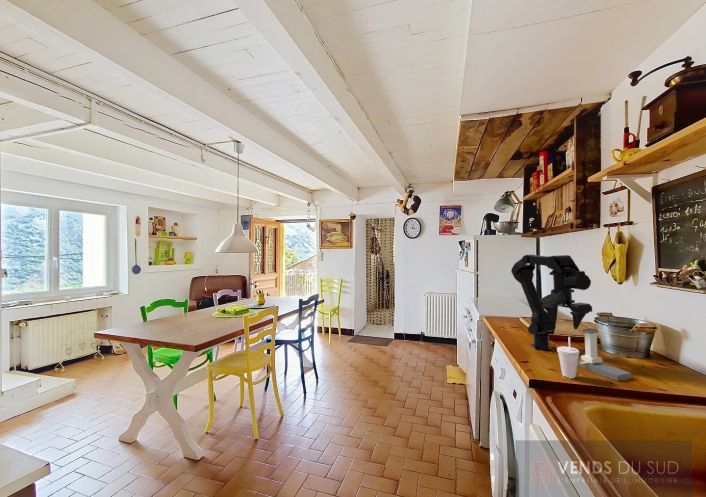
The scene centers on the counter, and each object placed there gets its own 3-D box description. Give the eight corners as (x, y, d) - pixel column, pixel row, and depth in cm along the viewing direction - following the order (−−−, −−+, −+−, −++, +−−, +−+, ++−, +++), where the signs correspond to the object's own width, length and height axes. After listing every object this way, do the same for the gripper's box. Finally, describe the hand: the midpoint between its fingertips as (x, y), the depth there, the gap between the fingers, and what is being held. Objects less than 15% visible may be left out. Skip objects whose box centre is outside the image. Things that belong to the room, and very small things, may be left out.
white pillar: (581, 359, 113) (580, 328, 113) (591, 358, 114) (589, 327, 114) (592, 363, 109) (590, 331, 109) (601, 362, 110) (600, 330, 110)
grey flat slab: (574, 365, 113) (573, 359, 113) (593, 362, 115) (593, 356, 115) (613, 382, 100) (613, 375, 100) (634, 378, 102) (634, 371, 102)
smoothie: (584, 381, 101) (582, 340, 101) (563, 380, 102) (561, 339, 102) (574, 373, 107) (573, 334, 107) (554, 372, 108) (552, 334, 108)
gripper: (526, 286, 127) (528, 323, 127) (567, 291, 109) (570, 334, 109) (548, 284, 130) (550, 320, 129) (592, 288, 111) (594, 331, 111)
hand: (564, 326), depth 120 cm, fingers open, 9 cm apart
